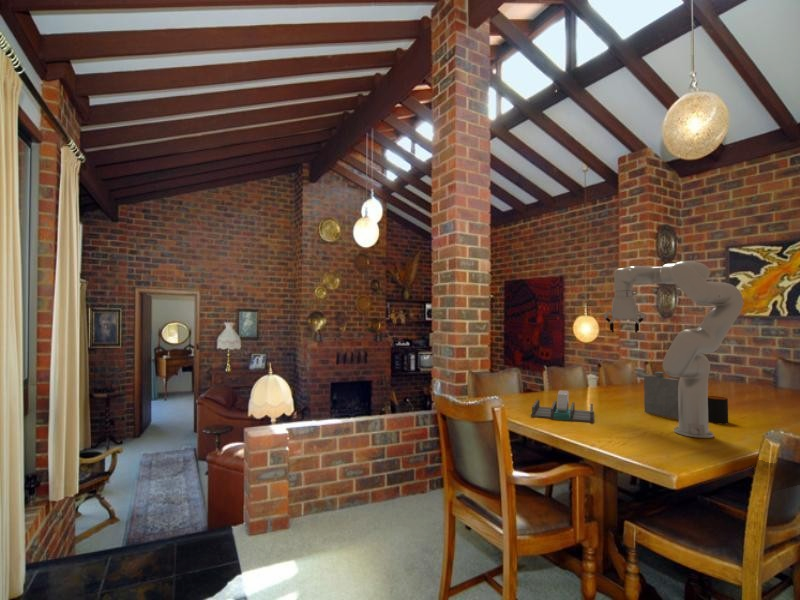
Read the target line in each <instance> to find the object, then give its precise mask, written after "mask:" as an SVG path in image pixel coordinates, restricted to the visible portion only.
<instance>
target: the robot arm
mask: <svg viewBox="0 0 800 600" xmlns="http://www.w3.org/2000/svg"><path fill="white" fill-rule="evenodd" d="M710 274H711V271H710V269H709V266H707V265H706V264H704V263H702V262H697V261H686V260H685V261H684V260H683V261H677V262H675V263H674V262H673V263H669V262H668V263H665V264H664V265H662V266H640V265H631V266H627V267H622V268H621V267H620V268H617V269H615V270H614V274H613V275H614V276H613V277H614V279H613V280H614V281H613V282H614V297H613V298H612V301H611V310H609V311H607V312H605V313H603V314H602V315H603V318H604V319H605V321H606V322H607V323H609V330H610V331H611V333H614V326H615V325H614V321H615V320H632V321H634V322H635V324H634V333H636V334H637V333H638V332H639V331H640V323H642V322H643V321H644V319H645V317H646V315H647V314H646V313H643V312H641V311H639V310H638V309H637V302H636V298H635V297H634V296H637V294H638V293H637V292H634V283H635V284H649V285H650V284H651V285H654V284H665V285H676V286H677V287H678V288H679V289H680V290H681V291H682V292H683V293H684V295H686V296H687V297H688V298H689V299H690V300H691V301H692V302H694V303H696V304H698V305H704V306H705V305H706V306H708V305H709V306H710V305H711V306H712V305H713V306H714V307H713V308H712V309H710V311H708V313H706V315H705V316H704V318H703V319H702V322H700V324H699V325H698V327H696V328H686V329H684V330H682V331H680V332H679V333H678V334H677V335H676V336H675V338H674V339H673V340H672V343H671V345H670V346H669V348H668V350H667V351H666V353H665V355H664V356H663V357H664V358H663V360H662V369H663V370H664V371H663V372H664V373H666V375H668V376H670V377H673V378H679V379H678V383H679V384H678V412H679V419H678V426H676V427H674V428H673V431H674V432H675V433H676V434H678V435H681V436H685V437H691V438H700V439H711V438H713V437H714V436H715V435H714V434H715V433H714V432H712V431H710V430H709V422H708V396H709V389H708V387H709V377H710V372H711V363H710V361H709V359H708V357H707V356H706V355H707V354H713V353H714V352H716V351H717V350H718V348H719V347H720V345H722V343H723V341H724V339H725V337H726V336H727V334H728V333H729V331H730V329H731V328H732V326H733V324H734V323H735V321H736V320H737V318H738V317H739V316H740V315H741V312H742V310H743V306H744V298H743V295H742V292H741V291H740V290H739V288H738V287H736V286H735V285H734V284H731V283H728V282H723V281H722V282H721V281H707V280H708V279H709V278H710V276H711V275H710ZM609 315H611V319H610V318H609V317H608V316H609ZM638 315H640V318H639V319H637V316H638Z"/></svg>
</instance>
